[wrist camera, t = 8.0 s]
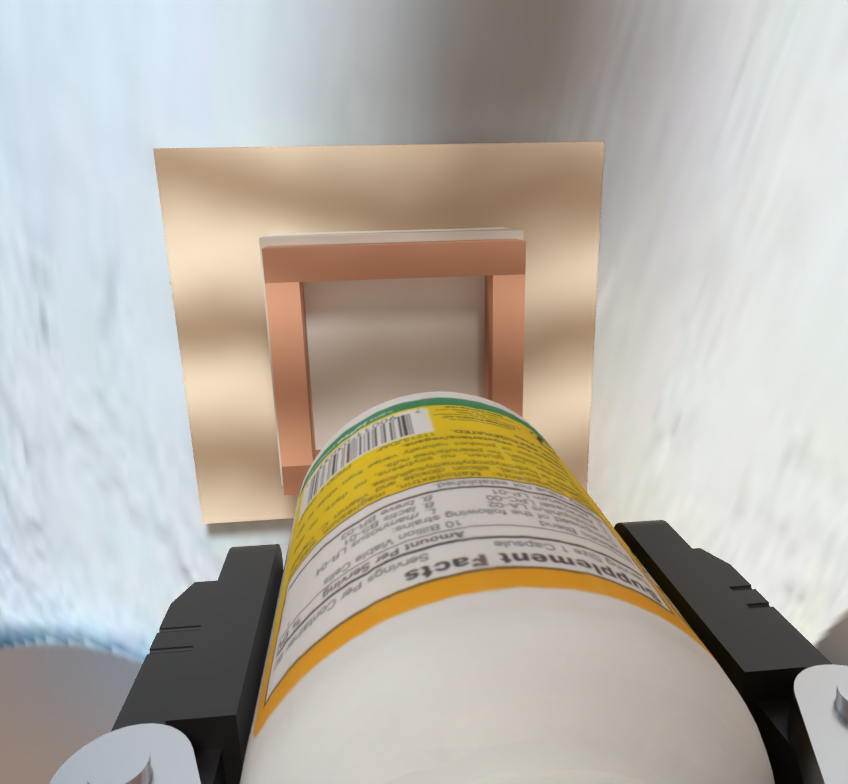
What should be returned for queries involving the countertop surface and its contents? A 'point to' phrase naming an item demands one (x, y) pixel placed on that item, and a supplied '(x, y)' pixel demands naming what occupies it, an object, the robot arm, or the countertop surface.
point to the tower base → (364, 199)
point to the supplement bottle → (478, 624)
